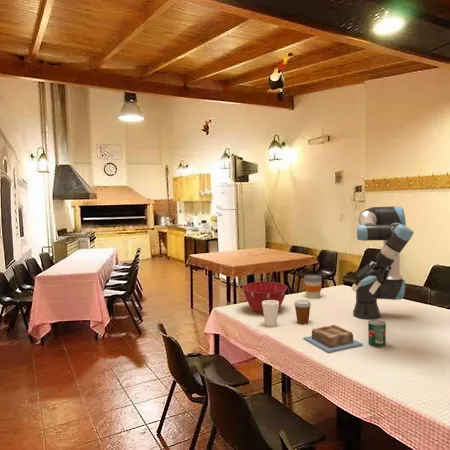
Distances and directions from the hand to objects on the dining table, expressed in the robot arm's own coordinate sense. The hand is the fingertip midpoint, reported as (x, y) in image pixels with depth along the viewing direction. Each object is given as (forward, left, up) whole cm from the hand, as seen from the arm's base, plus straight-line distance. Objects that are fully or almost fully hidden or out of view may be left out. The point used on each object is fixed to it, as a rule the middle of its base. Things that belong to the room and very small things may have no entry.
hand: (362, 291), depth 191 cm
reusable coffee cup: (-31, -85, -26) cm, 95 cm away
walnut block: (+12, -8, -26) cm, 30 cm away
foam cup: (+25, -46, -26) cm, 59 cm away
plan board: (+12, -8, -26) cm, 30 cm away
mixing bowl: (+14, -73, -26) cm, 79 cm away
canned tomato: (-5, +4, -26) cm, 27 cm away
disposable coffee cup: (+7, -41, -26) cm, 49 cm away
